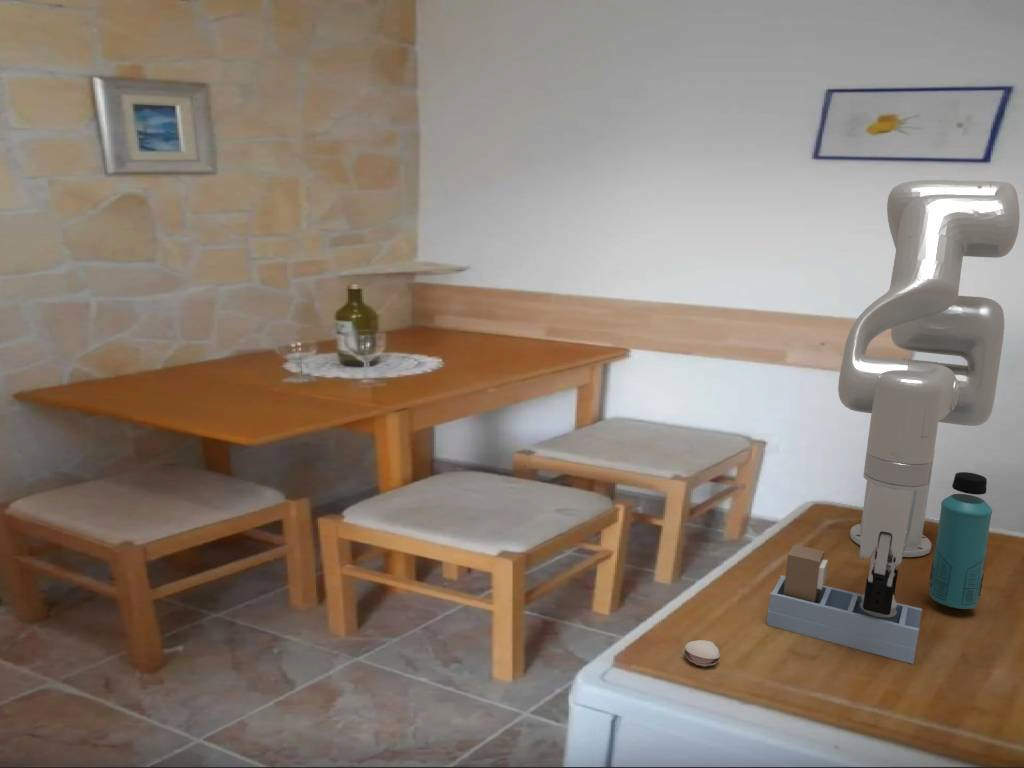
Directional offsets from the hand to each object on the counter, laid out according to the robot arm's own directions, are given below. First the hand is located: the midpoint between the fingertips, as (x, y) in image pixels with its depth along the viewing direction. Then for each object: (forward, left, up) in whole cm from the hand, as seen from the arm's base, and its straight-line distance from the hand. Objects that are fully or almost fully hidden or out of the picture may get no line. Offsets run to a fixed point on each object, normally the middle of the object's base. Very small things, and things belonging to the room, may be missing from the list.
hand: (878, 602), depth 107 cm
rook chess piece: (0, 0, -2) cm, 2 cm away
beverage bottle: (-16, +9, -6) cm, 19 cm away
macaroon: (+17, -18, -6) cm, 25 cm away
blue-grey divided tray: (0, -4, -5) cm, 7 cm away
